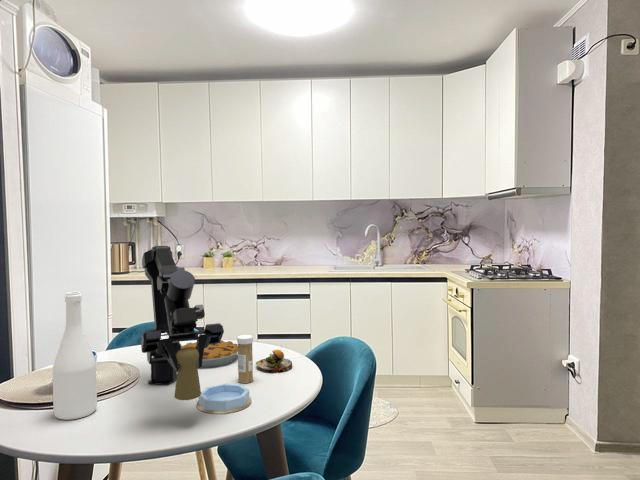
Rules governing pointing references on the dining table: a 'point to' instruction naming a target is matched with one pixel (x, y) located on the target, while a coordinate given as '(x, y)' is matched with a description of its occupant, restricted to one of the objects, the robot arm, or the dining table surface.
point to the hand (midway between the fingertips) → (188, 369)
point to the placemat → (223, 411)
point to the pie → (216, 353)
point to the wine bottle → (74, 367)
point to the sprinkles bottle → (245, 358)
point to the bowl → (224, 397)
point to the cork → (187, 375)
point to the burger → (275, 362)
